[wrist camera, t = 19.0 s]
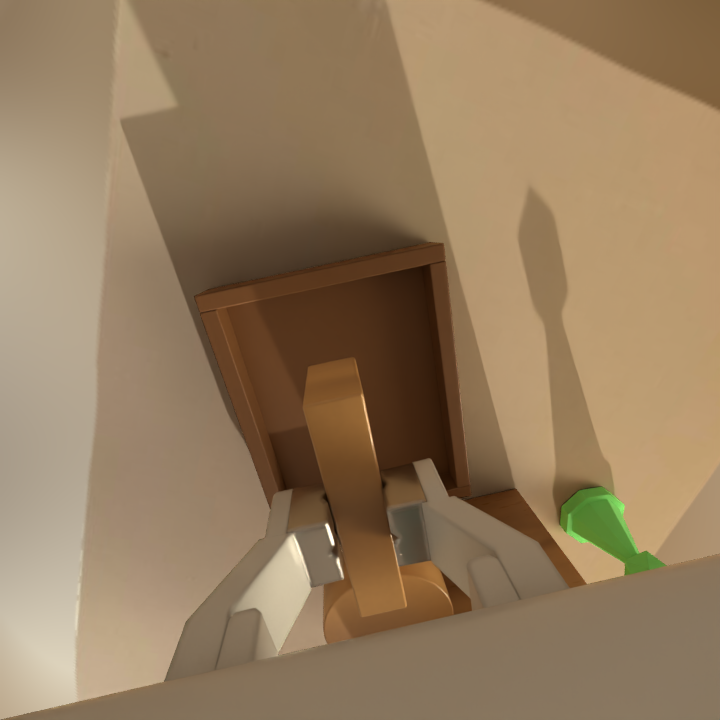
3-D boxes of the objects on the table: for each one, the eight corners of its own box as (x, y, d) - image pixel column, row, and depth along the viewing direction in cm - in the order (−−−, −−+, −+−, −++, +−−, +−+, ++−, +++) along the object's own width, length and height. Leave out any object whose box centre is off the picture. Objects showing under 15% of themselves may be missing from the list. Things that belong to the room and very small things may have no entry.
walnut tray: (207, 289, 18) (193, 296, 16) (431, 241, 18) (444, 242, 16) (284, 512, 23) (280, 538, 21) (459, 473, 23) (471, 495, 21)
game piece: (575, 481, 24) (650, 556, 19) (627, 491, 25) (715, 566, 19) (548, 530, 26) (611, 614, 20) (599, 538, 26) (673, 621, 21)
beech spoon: (256, 376, 10) (234, 420, 8) (404, 345, 10) (428, 378, 8) (337, 633, 14) (339, 715, 12) (445, 608, 14) (470, 686, 12)
